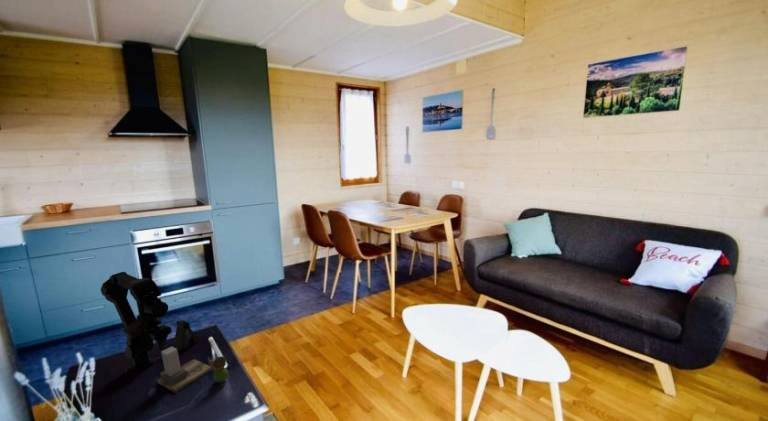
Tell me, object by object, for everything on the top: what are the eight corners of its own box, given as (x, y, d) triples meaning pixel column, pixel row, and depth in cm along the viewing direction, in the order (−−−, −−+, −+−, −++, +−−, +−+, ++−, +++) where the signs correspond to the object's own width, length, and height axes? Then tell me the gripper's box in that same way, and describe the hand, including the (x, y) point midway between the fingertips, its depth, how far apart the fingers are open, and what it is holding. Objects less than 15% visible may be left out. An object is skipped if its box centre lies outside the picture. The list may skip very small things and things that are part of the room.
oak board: (158, 383, 136) (157, 380, 135) (194, 361, 148) (194, 358, 148) (175, 393, 130) (174, 390, 129) (211, 369, 142) (211, 366, 142)
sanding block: (161, 378, 136) (155, 351, 134) (176, 370, 141) (171, 343, 139) (171, 385, 132) (166, 357, 130) (187, 376, 137) (182, 349, 135)
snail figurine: (209, 382, 134) (204, 355, 132) (225, 374, 139) (221, 347, 137) (214, 389, 131) (210, 361, 128) (231, 380, 135) (227, 353, 133)
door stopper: (180, 351, 156) (175, 327, 153) (173, 347, 159) (168, 324, 157) (199, 341, 163) (195, 318, 161) (192, 338, 167) (188, 315, 164)
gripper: (112, 315, 132) (120, 351, 135) (137, 326, 123) (145, 365, 126) (143, 303, 141) (150, 337, 145) (169, 312, 132) (175, 348, 135)
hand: (154, 346), depth 137 cm, fingers open, 9 cm apart
